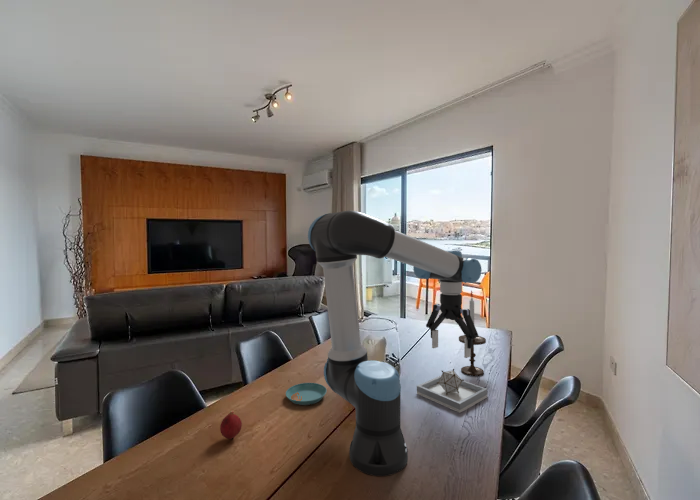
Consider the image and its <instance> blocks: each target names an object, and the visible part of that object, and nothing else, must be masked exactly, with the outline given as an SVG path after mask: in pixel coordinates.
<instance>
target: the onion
mask: <svg viewBox="0 0 700 500" xmlns="http://www.w3.org/2000/svg"><path fill="white" fill-rule="evenodd" d="M234 412H235V411H233V410H231V411H229V413H228V414H227V415H226V416H224V418H223V419H222V420H221V422H220V426H219V431H220V434H221V435H222V436H223V438H226V439H229V440H233V439H234V438H235V437H237V436H238V435H239V434H240V432H241V430H242V426H243V423H242V420H241V418H240V417H239V416H238V415H237V414H235V413H234ZM232 438H233V439H232Z"/></svg>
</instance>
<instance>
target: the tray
mask: <svg viewBox="0 0 700 500" xmlns="http://www.w3.org/2000/svg"><path fill="white" fill-rule="evenodd" d="M441 376H442V374H441V375H439V376H436V377H434V378H431V379H429V380H426V381H425V382H423V383H420V384H418V385H416V395H419V396H421V397H423V398H426V399H427V400H429V401H432V402H434V403H436V404H439V405H441V406H442V407H445V408H448V409H450V410H453V411H455V412H456V413H459V414H461V413H462V412H464V411H466V410H468V409H469V408H471V407H473V406H475V405H477V404H478V403H480V402H482V401H483V400H485V399H487V398H488V388H486V387H484V386H480V385H477V384H474V383H472V382H469V381H467V380H464V381H462V382H461V385H460V387H459V389H458V391H459V393H458V392H451V393H448V395H446V393H447V392H446V391H445V390H444V389H443V388H442V386H441V385H440V384H439V383H438V384H437V382H439V381H440V378H441Z"/></svg>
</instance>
